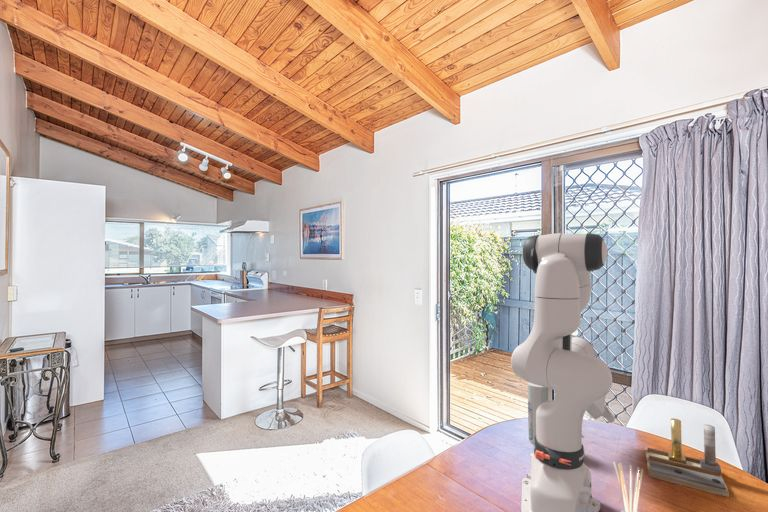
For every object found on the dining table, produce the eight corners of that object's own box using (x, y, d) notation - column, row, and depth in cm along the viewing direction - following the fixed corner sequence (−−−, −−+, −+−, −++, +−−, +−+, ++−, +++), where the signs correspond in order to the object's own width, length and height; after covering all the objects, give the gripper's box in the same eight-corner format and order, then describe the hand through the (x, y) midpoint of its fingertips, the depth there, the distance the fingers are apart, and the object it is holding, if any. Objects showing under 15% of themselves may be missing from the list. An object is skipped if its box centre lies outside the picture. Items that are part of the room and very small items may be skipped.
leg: (686, 465, 105) (685, 424, 106) (669, 461, 108) (668, 421, 108) (684, 459, 109) (683, 419, 109) (667, 455, 111) (666, 416, 111)
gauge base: (728, 497, 94) (727, 443, 94) (648, 476, 104) (647, 427, 104) (716, 471, 106) (715, 423, 106) (645, 454, 115) (645, 410, 115)
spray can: (530, 435, 128) (529, 379, 128) (549, 440, 125) (549, 382, 125) (526, 443, 123) (525, 385, 123) (547, 448, 119) (546, 388, 120)
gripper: (583, 386, 113) (621, 426, 107) (588, 372, 130) (620, 405, 124) (567, 398, 115) (603, 437, 109) (574, 382, 132) (605, 415, 126)
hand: (612, 420), depth 117 cm, fingers closed
